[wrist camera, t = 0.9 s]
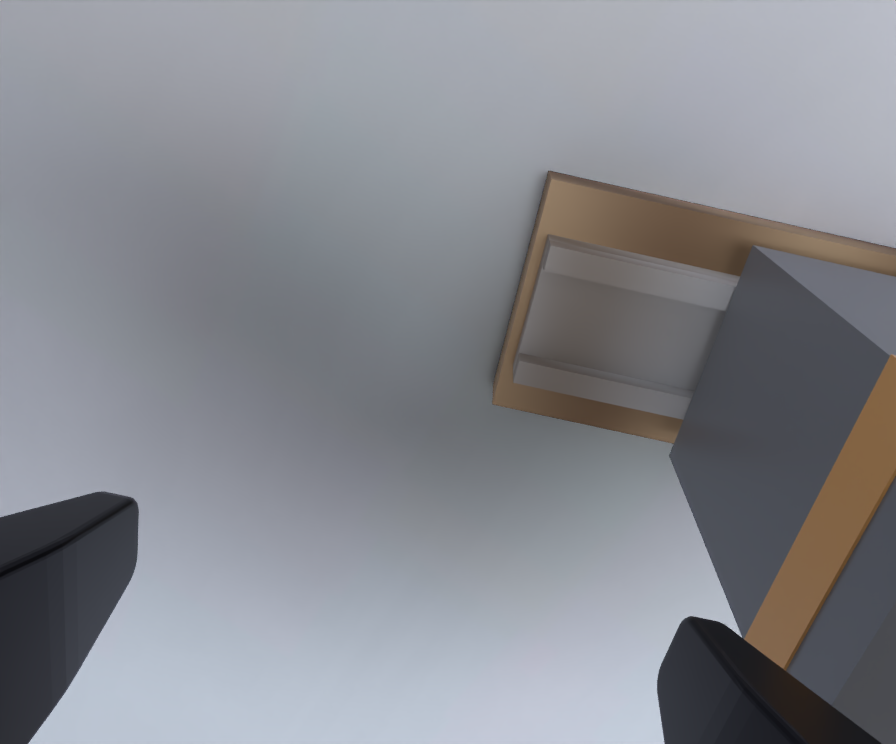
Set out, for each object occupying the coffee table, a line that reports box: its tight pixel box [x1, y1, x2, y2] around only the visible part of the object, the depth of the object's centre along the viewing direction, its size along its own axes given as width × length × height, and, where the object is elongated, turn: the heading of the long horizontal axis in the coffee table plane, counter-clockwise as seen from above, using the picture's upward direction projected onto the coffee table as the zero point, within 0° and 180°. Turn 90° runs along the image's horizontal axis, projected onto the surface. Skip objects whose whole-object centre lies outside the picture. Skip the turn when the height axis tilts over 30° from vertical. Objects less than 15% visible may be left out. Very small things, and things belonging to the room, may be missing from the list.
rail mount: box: [492, 171, 896, 444], centre depth 17 cm, size 18×6×6 cm, turn 78°
